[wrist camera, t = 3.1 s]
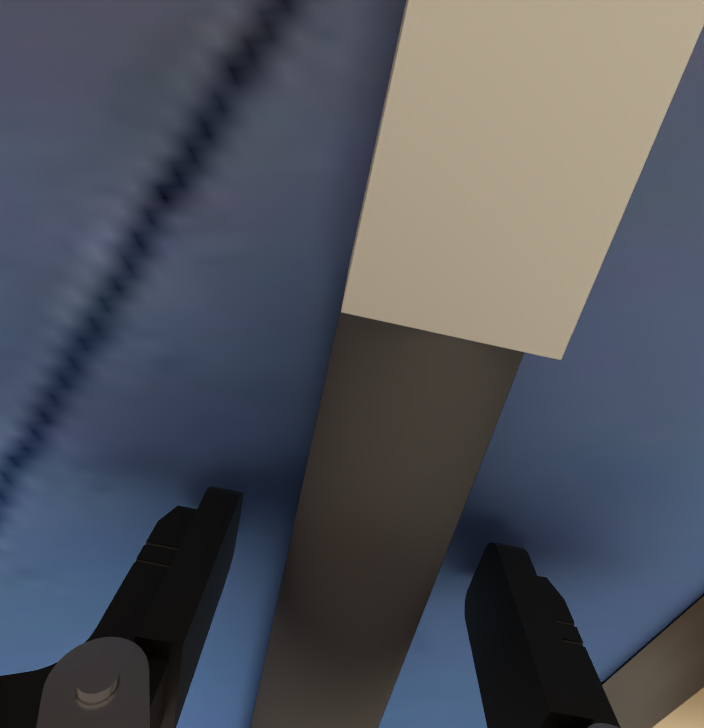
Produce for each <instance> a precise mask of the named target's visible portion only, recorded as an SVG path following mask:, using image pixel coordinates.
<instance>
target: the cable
mask: <svg viewBox="0 0 704 728" xmlns="http://www.w3.org/2000/svg"><path fill="white" fill-rule="evenodd" d="M703 25H704V0H406V4H405V9H404V13H403V18H402V23H401V27H400V32H399V36H398V41H397V46H396V50H395V55H394V60H393V64H392V69H391V74H390V78H389V83H388V88H387V92H386V97H385V101H384V106H383V111H382V115H381V120H380V125H379V129H378V134H377V139H376V143H375V148H374V152H373V157H372V162H371V166H370V171H369V176H368V180H367V185H366V190H365V194H364V199H363V203H362V208H361V213H360V217H359V222H358V227H357V231H356V236H355V241H354V245H353V250H352V255H351V259H350V264H349V269H348V275H347V281H346V286H345V291H344V295H343V300H342V304H341V309H340V314H339V318H338V323H337V328H336V332H335V337H334V341H333V346H332V351H331V355H330V360H329V365H328V369H327V374H326V378H325V383H324V388H323V392H322V397H321V402H320V406H319V411H318V415H317V420H316V425H315V429H314V434H313V439H312V443H311V448H310V452H309V457H308V462H307V466H306V471H305V476H304V480H303V485H302V489H301V494H300V499H299V503H298V508H297V513H296V517H295V522H294V526H293V531H292V536H291V540H290V545H289V550H288V554H287V559H286V563H285V568H284V573H283V577H282V582H281V587H280V591H279V596H278V600H277V605H276V610H275V614H274V619H273V624H272V628H271V633H270V637H269V642H268V647H267V651H266V656H265V661H264V665H263V670H262V674H261V679H260V684H259V688H258V693H257V698H256V702H255V707H254V711H253V716H252V721H251V725H250V728H378V726H379V724H380V721H381V719H382V716H383V714H384V711H385V709H386V706H387V703H388V701H389V698H390V696H391V693H392V691H393V688H394V685H395V683H396V680H397V678H398V675H399V673H400V670H401V667H402V665H403V662H404V660H405V657H406V655H407V652H408V650H409V647H410V644H411V642H412V639H413V637H414V634H415V632H416V629H417V626H418V624H419V621H420V619H421V616H422V614H423V611H424V608H425V606H426V603H427V601H428V598H429V596H430V593H431V591H432V588H433V585H434V583H435V580H436V578H437V575H438V573H439V570H440V567H441V565H442V562H443V560H444V557H445V555H446V552H447V549H448V547H449V544H450V542H451V539H452V537H453V534H454V532H455V529H456V526H457V524H458V521H459V519H460V516H461V514H462V511H463V508H464V506H465V503H466V501H467V498H468V496H469V493H470V490H471V488H472V485H473V483H474V480H475V478H476V475H477V473H478V470H479V467H480V465H481V462H482V460H483V457H484V455H485V452H486V449H487V447H488V444H489V442H490V439H491V437H492V434H493V431H494V429H495V426H496V424H497V421H498V419H499V416H500V414H501V411H502V408H503V406H504V403H505V401H506V398H507V396H508V393H509V390H510V388H511V385H512V383H513V380H514V378H515V375H516V372H517V370H518V367H519V365H520V362H521V360H522V357H523V355H524V352H526V353H530V354H535V355H540V356H544V357H549V358H553V359H558V360H561V359H562V356H563V354H564V352H565V349H566V347H567V345H568V342H569V340H570V338H571V335H572V333H573V330H574V328H575V326H576V323H577V321H578V319H579V316H580V314H581V312H582V309H583V307H584V305H585V302H586V300H587V298H588V295H589V293H590V291H591V288H592V286H593V283H594V281H595V279H596V276H597V274H598V272H599V269H600V267H601V265H602V262H603V260H604V258H605V255H606V253H607V251H608V248H609V246H610V244H611V241H612V239H613V237H614V234H615V232H616V229H617V227H618V225H619V222H620V220H621V218H622V215H623V213H624V211H625V208H626V206H627V204H628V201H629V199H630V197H631V194H632V192H633V190H634V187H635V185H636V182H637V180H638V178H639V175H640V173H641V171H642V168H643V166H644V164H645V161H646V159H647V157H648V154H649V152H650V150H651V147H652V145H653V143H654V140H655V138H656V135H657V133H658V131H659V128H660V126H661V124H662V121H663V119H664V117H665V114H666V112H667V110H668V107H669V105H670V103H671V100H672V98H673V96H674V93H675V91H676V88H677V86H678V84H679V81H680V79H681V77H682V74H683V72H684V70H685V67H686V65H687V63H688V60H689V58H690V56H691V53H692V51H693V49H694V46H695V44H696V41H697V39H698V37H699V34H700V32H701V30H702V27H703Z"/></svg>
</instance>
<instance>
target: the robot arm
mask: <svg viewBox="0 0 704 728" xmlns="http://www.w3.org/2000/svg"><path fill="white" fill-rule="evenodd" d="M242 498H243V493H241V492H236V491H231V490H226V489H221V488H216V487H211V486H210V487H208V489H207V491H206V492H205V494H204V497H203V499H202V501H201V503H200V505H199V507H198V509H193V508H187V507H182V506H177V507H176V508H174V509H173V510H172V511H170V512H169V513H168V514H167V515H165V516H164V517H163V518H161V519H160V520H159V521H158V522H157V524H156V526H155V527H154V529H153V531H152V533H151V534H150V536H149V538H148V539H147V542H146V545H144V546H143V548H142V550H141V552H140V553H139V555H138V557H137V559H136V562H134V564H133V565H132V567H131V569H130V571H129V572H128V574H127V576H126V577H125V579H124V581H123V583H122V584H121V586H120V588H119V589H118V591H117V593H116V595H115V596H114V598H113V600H112V602H111V603H110V605H109V607H108V608H107V610H106V612H105V614H104V615H103V617H102V619H101V621H100V622H99V624H98V626H97V627H96V629H95V631H94V632H93V634H92V635H91V636H90V638H89V639H88V640H87V641H86V642H85V643H83V644H81V645H80V646H78V647H76V648H74V649H73V650H71V651H70V652H69V653H67V654H66V655H65V656H64V657H63V658H62V659H60V660H59V662H57V663H55V664H53V665H51V666H48V667H45V668H42V669H39V670H35V671H30V672H24V673H18V674H11V675H4V676H0V728H176V726H177V723H178V720H179V717H180V714H181V711H182V708H183V705H184V702H185V699H186V696H187V693H188V690H189V687H190V684H191V682H192V679H193V676H194V673H195V670H196V667H197V664H198V661H199V658H200V655H201V652H202V649H203V646H204V643H205V640H206V637H207V634H208V631H209V628H210V626H211V623H212V620H213V617H214V614H215V611H216V608H217V605H218V602H219V599H220V596H221V593H222V590H223V587H224V584H225V581H226V578H227V575H228V572H229V569H230V565H231V562H232V558H233V553H234V549H235V543H236V537H237V530H238V524H239V518H240V511H241V505H242ZM465 620H466V626H467V630H468V635H469V640H470V645H471V650H472V655H473V659H474V664H475V669H476V674H477V679H478V684H479V688H480V693H481V698H482V703H483V708H484V713H485V718H486V722H487V727H488V728H621V727H620V725H619V723H618V721H617V718H616V716H615V714H614V711H613V709H612V707H611V705H610V702H609V700H608V698H607V696H606V693H605V691H604V689H603V686H602V684H601V682H600V680H599V677H598V675H597V673H596V671H595V668H594V666H593V664H592V661H591V659H590V657H589V655H588V652H587V650H586V648H585V647H583V641H582V639H581V636H580V634H579V632H578V630H577V627H574V620H573V618H572V616H571V614H570V611H569V609H568V607H567V605H566V602H565V600H564V598H563V597H562V596H561V595H560V594H559V592H558V591H557V590H556V589H555V587H554V586H553V585H552V584H551V583H550V581H549V580H548V579H547V578H546V577H541V576H537V574H536V572H535V569H534V567H533V564H532V562H531V559H530V557H529V554H528V552H527V551H526V550H525V549H523V548H519V547H513V546H508V545H503V544H498V543H493V542H491V543H489V544H488V545H487V546H486V548H485V550H484V553H483V555H482V557H481V560H480V562H479V564H478V567H477V569H476V571H475V574H474V576H473V578H472V581H471V583H470V585H469V588H468V590H467V594H466V599H465Z"/></svg>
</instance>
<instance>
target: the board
mask: <svg viewBox="0 0 704 728" xmlns="http://www.w3.org/2000/svg"><path fill="white" fill-rule="evenodd" d="M602 686H603V689H604V691H605V693H606V696H607V698H608V700H609V702H610V705H611V707H612V709H613V711H614V714H615V716H616V718H617V721H618V723H619V725H620V727H621V728H704V596H703V597H702V598H701V599H700V600H698V601H697V602H696V603H695V604H694V605H693V606H692V607H690V608H689V609H688V610H687V611H686V612H685V613H684V614H682V615H681V616H680V617H679V618H678V619H677V620H676V621H675V622H673V623H672V624H671V625H670V626H669V627H668V628H667V629H665V630H664V631H663V632H662V633H661V634H660V635H659V636H657V637H656V638H655V639H654V640H653V641H652V642H651V643H649V644H648V645H647V646H646V647H645V648H644V649H643V650H641V651H640V652H639V653H638V654H637V655H636V656H635V657H633V658H632V659H631V660H630V661H629V662H628V663H627V664H626V665H624V666H623V667H622V668H621V669H620V670H619V671H618V672H616V673H615V674H614V675H613V676H612V677H611V678H610V679H608V680H607V681H606V682H605V683H604V684H603V685H602Z"/></svg>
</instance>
